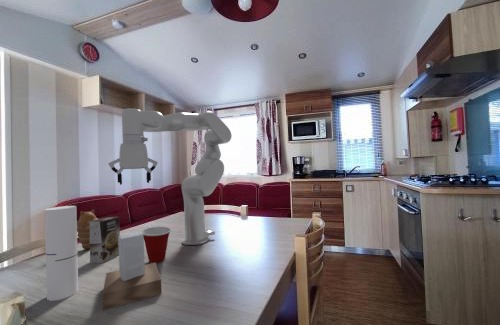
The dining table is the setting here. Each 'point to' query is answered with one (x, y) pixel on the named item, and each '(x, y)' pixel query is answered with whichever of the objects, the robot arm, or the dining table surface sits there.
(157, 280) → the walnut base
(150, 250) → the plastic cup
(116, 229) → the coffee box
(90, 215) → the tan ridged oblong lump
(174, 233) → the dining table surface
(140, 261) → the skincare box
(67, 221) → the cylindrical container
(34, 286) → the dining table surface
